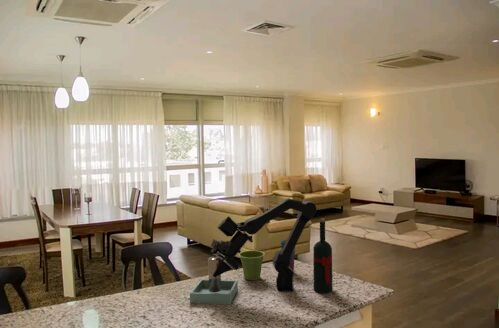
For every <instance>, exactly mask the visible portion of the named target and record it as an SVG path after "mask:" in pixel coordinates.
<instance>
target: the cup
mask: <svg viewBox="0 0 499 328" xmlns="http://www.w3.org/2000/svg"><path fill="white" fill-rule="evenodd" d="M286 240H287V239H282V240H280V246H281V248H280V249H282V248H283V247H284V244H285V242H286ZM295 253H296V247H295V248H294V250H293V252H292V254H291V260H290V264H289V266H290V267H291V269H292V270H293V272H295V271H294V270H295Z"/></svg>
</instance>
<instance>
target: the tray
mask: <svg viewBox="0 0 499 328" xmlns="http://www.w3.org/2000/svg"><path fill="white" fill-rule="evenodd" d="M238 285H239V284H238V280H229V279H228V280H225V279H221V291H219V292H210V291H209V279H200V280H199V281H198V282H197V284H196V285H195V286H194V287H193V289H191V291H190V292H189V303H190V304H191V303H192V304H208V305H209V304H211V305H212V304H213V305H231V304H232V302H233V300H234V298H235V295H236V294H237V292H238Z"/></svg>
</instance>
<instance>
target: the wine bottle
mask: <svg viewBox="0 0 499 328" xmlns="http://www.w3.org/2000/svg"><path fill="white" fill-rule="evenodd" d="M312 258H313V263H312V264H313V292H315V293H318V294H326V295H327V294H330V293H333V248H332V246H331V244H330V243H329V242H328V241H326V219H325V218H319V240H318V241H317V242H316V243H315V244H314V245H313V257H312Z"/></svg>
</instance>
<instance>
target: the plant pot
mask: <svg viewBox="0 0 499 328" xmlns="http://www.w3.org/2000/svg"><path fill="white" fill-rule="evenodd" d="M265 254H266V253H265V252H264V251H260V250H244V251H241V252H240V253H238V256H239V257H240V261H241V265H242V266H241V267H242V270H243V271H242V272H243V277H244V279H245V280H248V281H258V280H259V279H260V278H261V273H262V266H263V260H264V256H265Z"/></svg>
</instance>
